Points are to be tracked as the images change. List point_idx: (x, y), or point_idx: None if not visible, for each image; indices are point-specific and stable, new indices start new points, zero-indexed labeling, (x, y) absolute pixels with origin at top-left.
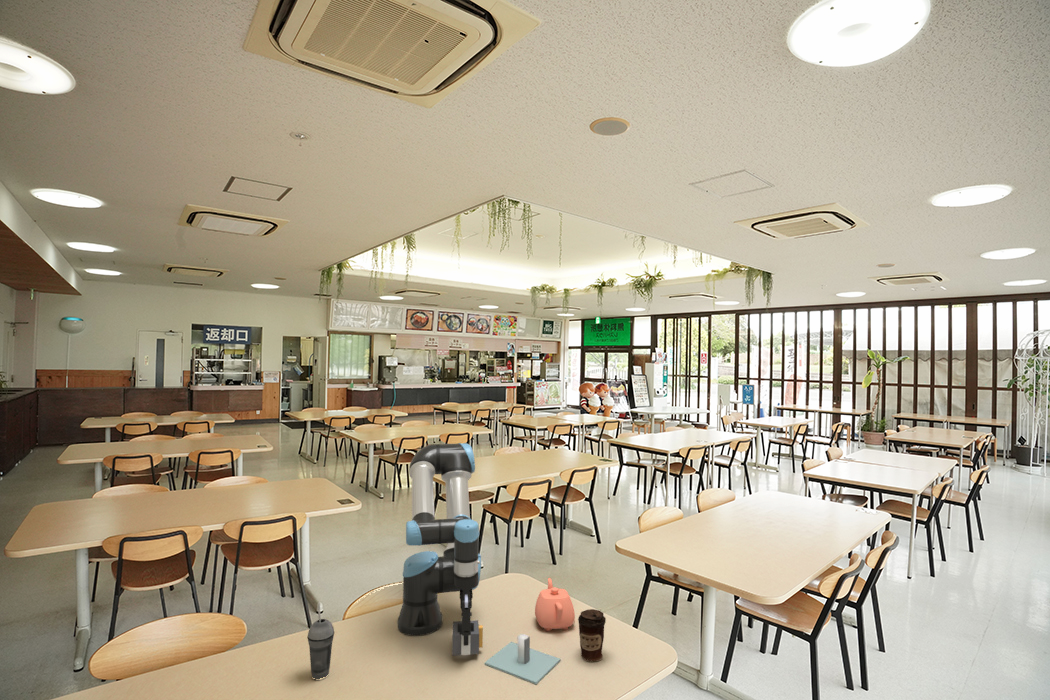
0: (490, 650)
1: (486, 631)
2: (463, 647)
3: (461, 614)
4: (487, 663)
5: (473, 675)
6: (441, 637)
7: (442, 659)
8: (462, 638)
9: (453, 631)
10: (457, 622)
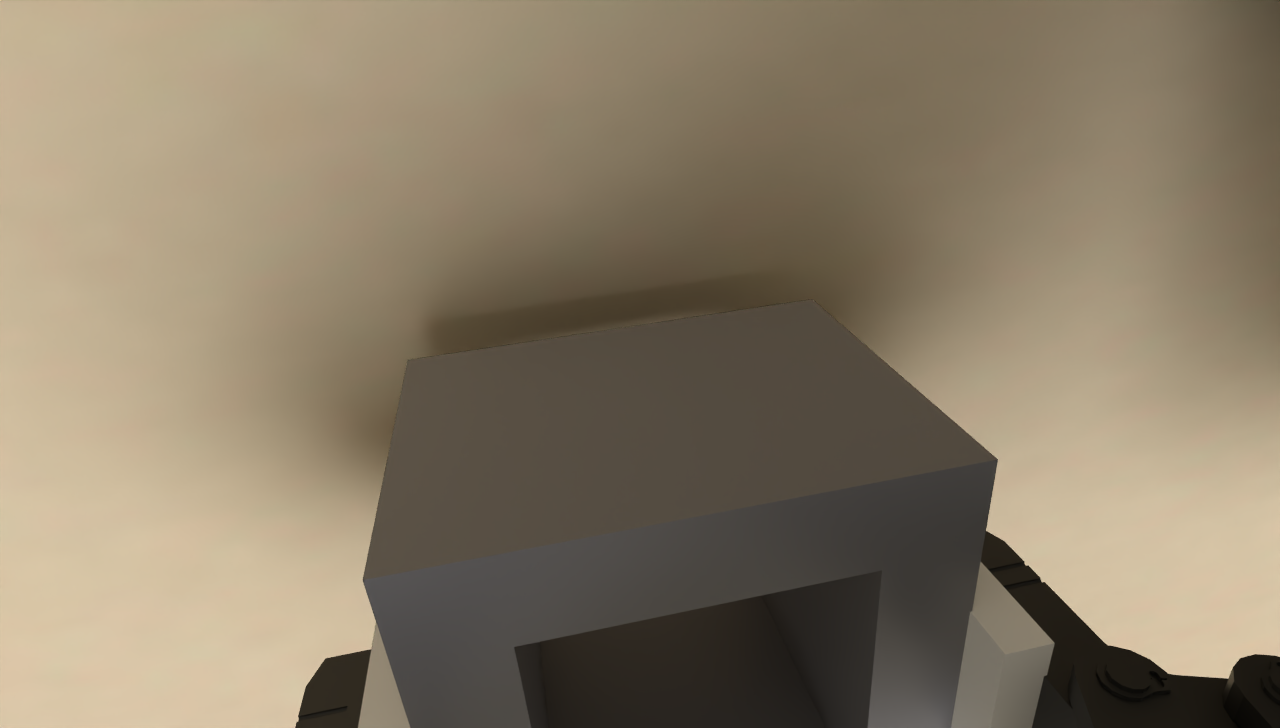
0: None
1: (1031, 563)
2: None
3: (1116, 688)
4: None
5: (126, 621)
6: (1054, 66)
7: (465, 172)
8: (370, 716)
9: (553, 562)
10: (938, 556)
